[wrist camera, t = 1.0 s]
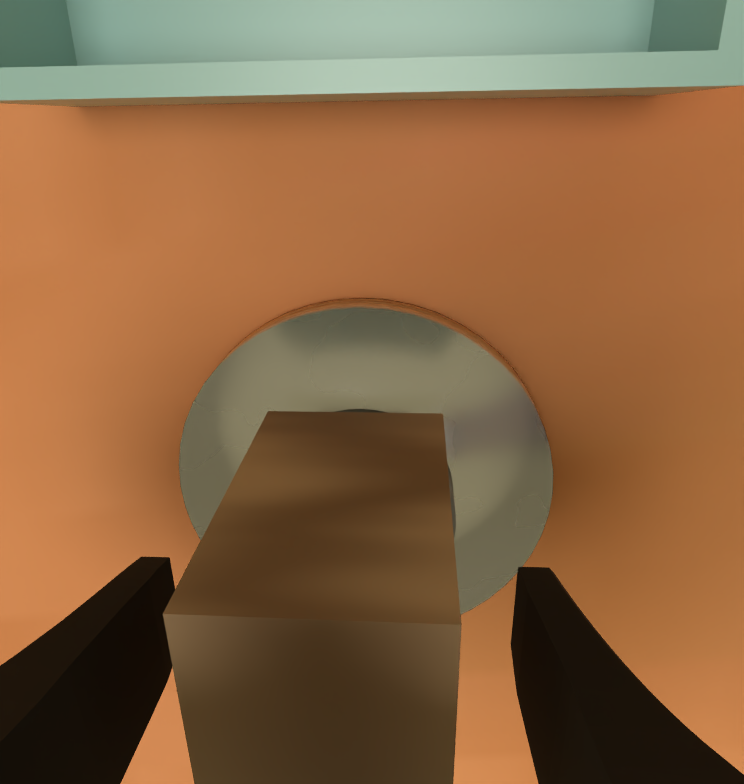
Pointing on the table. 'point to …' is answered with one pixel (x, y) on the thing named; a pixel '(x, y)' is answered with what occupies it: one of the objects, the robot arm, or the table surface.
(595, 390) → the table surface
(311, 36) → the teal bin
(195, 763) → the brown wooden block
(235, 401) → the steel base plate
